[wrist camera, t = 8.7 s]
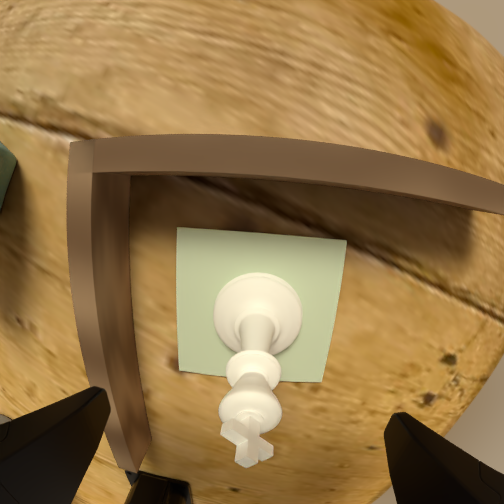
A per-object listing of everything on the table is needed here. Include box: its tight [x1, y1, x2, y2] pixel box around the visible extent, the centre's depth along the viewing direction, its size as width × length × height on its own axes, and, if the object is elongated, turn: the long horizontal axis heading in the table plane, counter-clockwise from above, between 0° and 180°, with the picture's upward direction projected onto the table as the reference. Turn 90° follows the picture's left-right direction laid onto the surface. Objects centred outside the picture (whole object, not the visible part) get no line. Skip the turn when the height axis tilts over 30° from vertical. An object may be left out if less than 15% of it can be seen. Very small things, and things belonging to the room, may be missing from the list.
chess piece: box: [213, 272, 303, 468], centre depth 11 cm, size 5×5×10 cm
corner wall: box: [67, 134, 504, 473], centre depth 14 cm, size 22×22×4 cm
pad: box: [176, 227, 347, 382], centre depth 16 cm, size 9×9×1 cm
